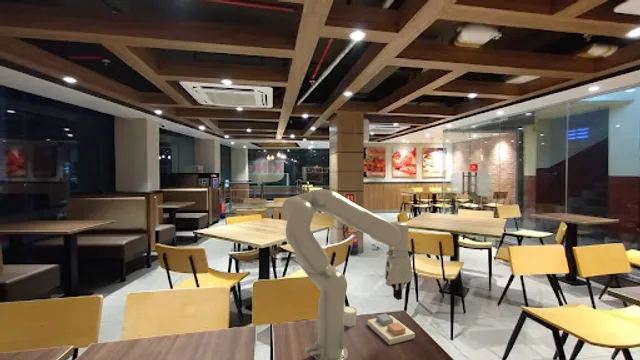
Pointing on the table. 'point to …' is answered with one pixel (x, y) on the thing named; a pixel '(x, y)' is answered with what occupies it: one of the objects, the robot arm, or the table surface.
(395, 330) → the key terracotta
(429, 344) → the table surface
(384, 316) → the key slate
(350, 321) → the shot glass
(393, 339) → the board
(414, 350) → the table surface
